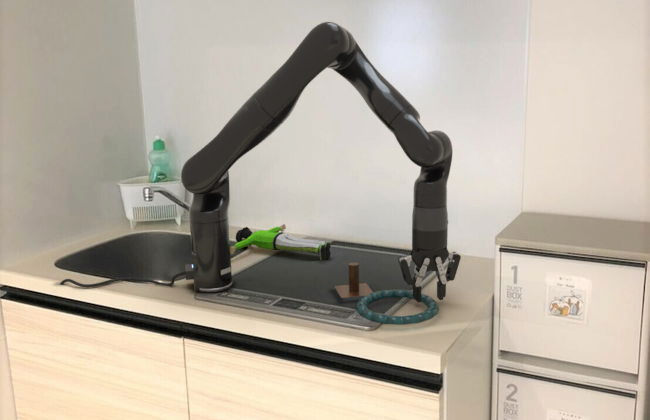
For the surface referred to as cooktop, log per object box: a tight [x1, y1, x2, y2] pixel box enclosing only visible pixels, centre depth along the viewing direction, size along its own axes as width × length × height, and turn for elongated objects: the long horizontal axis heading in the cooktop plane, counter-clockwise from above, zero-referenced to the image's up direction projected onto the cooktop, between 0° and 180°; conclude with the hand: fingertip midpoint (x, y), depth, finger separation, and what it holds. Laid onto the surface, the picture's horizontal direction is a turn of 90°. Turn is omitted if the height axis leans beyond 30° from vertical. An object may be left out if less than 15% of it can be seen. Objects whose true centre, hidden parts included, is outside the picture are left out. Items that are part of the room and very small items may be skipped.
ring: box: [355, 289, 440, 326], centre depth 150 cm, size 18×18×2 cm
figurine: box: [230, 223, 332, 262], centre depth 193 cm, size 28×6×30 cm
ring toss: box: [333, 261, 375, 299], centre depth 160 cm, size 8×8×8 cm
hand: (429, 299), depth 151 cm, fingers open, 4 cm apart
